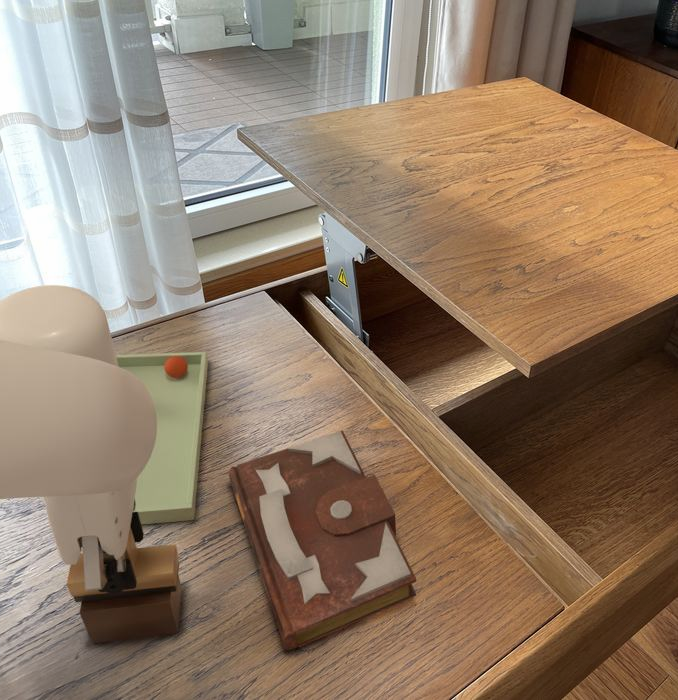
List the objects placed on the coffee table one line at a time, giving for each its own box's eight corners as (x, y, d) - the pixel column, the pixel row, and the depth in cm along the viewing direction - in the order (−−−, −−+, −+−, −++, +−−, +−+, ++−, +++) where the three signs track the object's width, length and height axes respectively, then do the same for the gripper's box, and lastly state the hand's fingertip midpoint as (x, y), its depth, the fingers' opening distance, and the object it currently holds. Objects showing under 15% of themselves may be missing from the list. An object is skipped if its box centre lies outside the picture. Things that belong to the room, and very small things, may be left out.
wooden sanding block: (177, 592, 70) (163, 536, 64) (74, 603, 68) (49, 546, 61) (180, 563, 72) (167, 506, 66) (80, 573, 70) (57, 516, 64)
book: (232, 489, 88) (225, 464, 85) (351, 448, 94) (349, 423, 90) (287, 656, 73) (281, 633, 70) (424, 595, 79) (425, 572, 76)
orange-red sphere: (188, 368, 101) (187, 382, 99) (165, 368, 100) (164, 382, 98) (187, 351, 99) (187, 365, 97) (164, 351, 98) (163, 365, 96)
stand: (177, 633, 73) (169, 602, 69) (92, 644, 71) (78, 612, 67) (182, 589, 76) (174, 557, 73) (100, 598, 75) (88, 566, 71)
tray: (194, 520, 83) (191, 507, 82) (69, 531, 80) (64, 518, 78) (208, 364, 103) (206, 351, 101) (108, 368, 100) (104, 355, 98)
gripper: (51, 362, 61) (94, 495, 73) (-3, 527, 49) (60, 654, 61) (145, 359, 63) (173, 489, 75) (116, 516, 51) (155, 642, 62)
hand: (122, 562), depth 67 cm, fingers open, 4 cm apart
